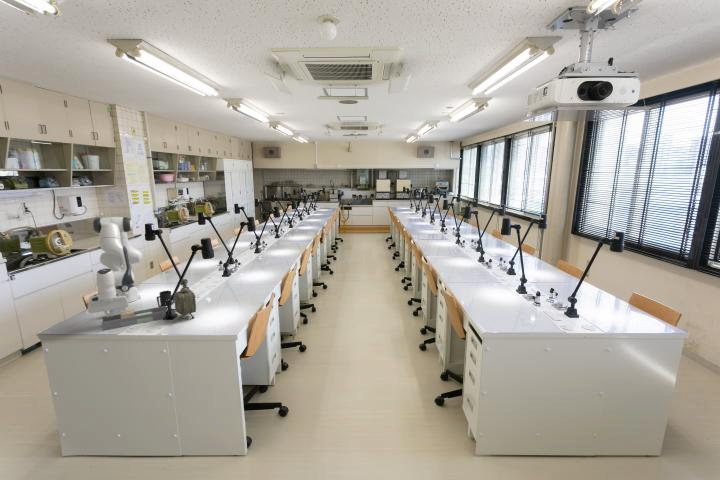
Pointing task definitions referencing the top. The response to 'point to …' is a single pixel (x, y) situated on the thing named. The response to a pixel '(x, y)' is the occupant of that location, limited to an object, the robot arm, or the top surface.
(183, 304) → the olive backpack
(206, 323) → the top surface
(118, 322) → the trap lane
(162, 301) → the black mug
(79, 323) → the top surface
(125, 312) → the maple block
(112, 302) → the robot arm
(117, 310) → the medicine box
